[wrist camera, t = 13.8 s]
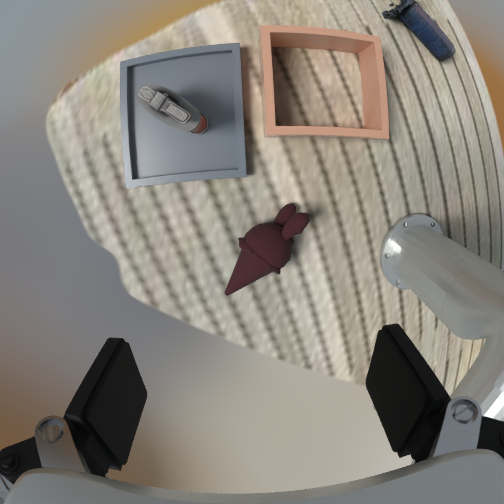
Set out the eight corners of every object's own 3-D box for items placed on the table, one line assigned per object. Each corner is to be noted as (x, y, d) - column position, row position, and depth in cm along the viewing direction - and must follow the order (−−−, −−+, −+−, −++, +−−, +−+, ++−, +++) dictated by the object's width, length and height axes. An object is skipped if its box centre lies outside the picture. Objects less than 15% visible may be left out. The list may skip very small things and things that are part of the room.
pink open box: (364, 48, 30) (379, 37, 25) (371, 139, 35) (389, 139, 30) (258, 41, 30) (260, 25, 25) (263, 137, 35) (267, 135, 30)
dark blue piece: (375, 17, 29) (427, 69, 32) (394, 6, 23) (452, 68, 26) (401, -10, 25) (451, 40, 28) (422, -22, 19) (476, 37, 22)
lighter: (151, 109, 32) (120, 98, 23) (166, 88, 32) (140, 70, 22) (199, 140, 34) (182, 137, 25) (214, 119, 33) (203, 108, 24)
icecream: (252, 321, 37) (331, 235, 35) (208, 296, 34) (292, 198, 31) (240, 292, 43) (307, 216, 41) (201, 268, 40) (271, 184, 37)
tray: (239, 47, 31) (239, 42, 29) (246, 175, 37) (246, 176, 35) (125, 65, 30) (120, 61, 29) (131, 186, 37) (126, 188, 35)
